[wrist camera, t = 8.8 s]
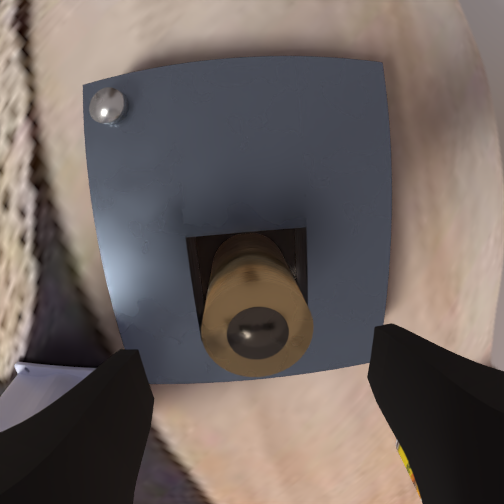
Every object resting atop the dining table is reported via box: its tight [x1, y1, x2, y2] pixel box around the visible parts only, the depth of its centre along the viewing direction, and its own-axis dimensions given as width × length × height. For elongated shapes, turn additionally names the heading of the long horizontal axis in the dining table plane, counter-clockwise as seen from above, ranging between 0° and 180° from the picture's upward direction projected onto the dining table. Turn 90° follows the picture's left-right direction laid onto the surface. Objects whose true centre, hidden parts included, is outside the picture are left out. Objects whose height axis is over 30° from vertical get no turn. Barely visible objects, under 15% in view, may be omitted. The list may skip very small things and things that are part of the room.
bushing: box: [201, 233, 313, 377], centre depth 14 cm, size 4×4×7 cm
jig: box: [83, 56, 392, 384], centre depth 15 cm, size 14×16×4 cm
